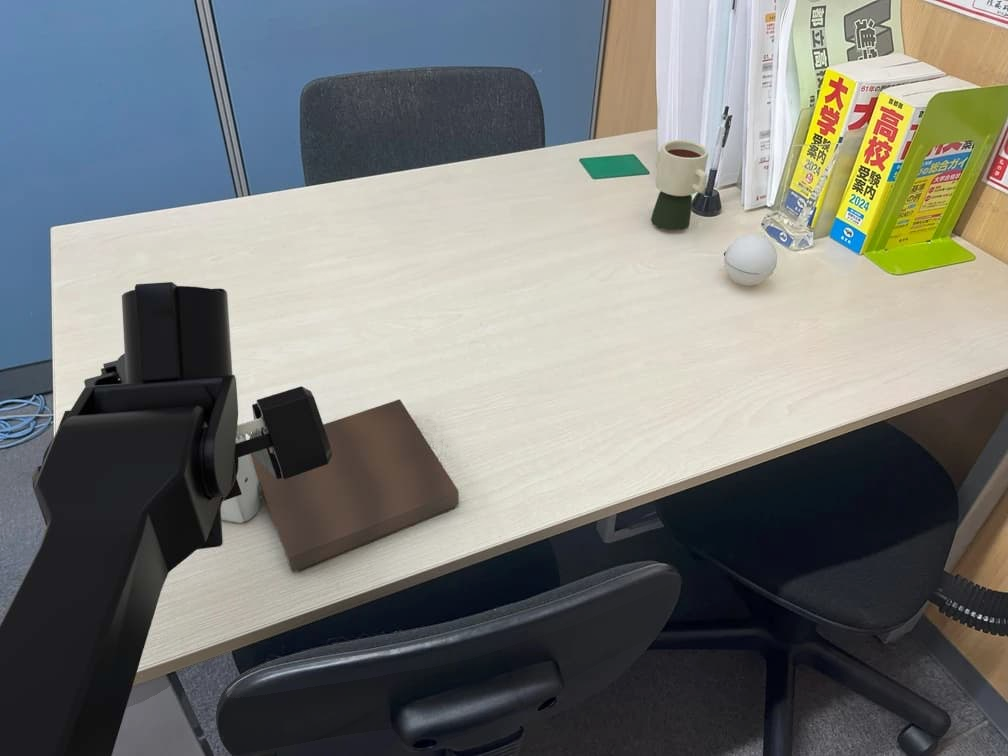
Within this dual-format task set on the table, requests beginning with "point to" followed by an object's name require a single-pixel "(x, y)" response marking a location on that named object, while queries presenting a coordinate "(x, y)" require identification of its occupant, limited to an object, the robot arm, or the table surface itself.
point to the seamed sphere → (750, 259)
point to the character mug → (678, 182)
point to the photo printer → (243, 492)
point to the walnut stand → (358, 488)
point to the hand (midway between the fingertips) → (197, 465)
